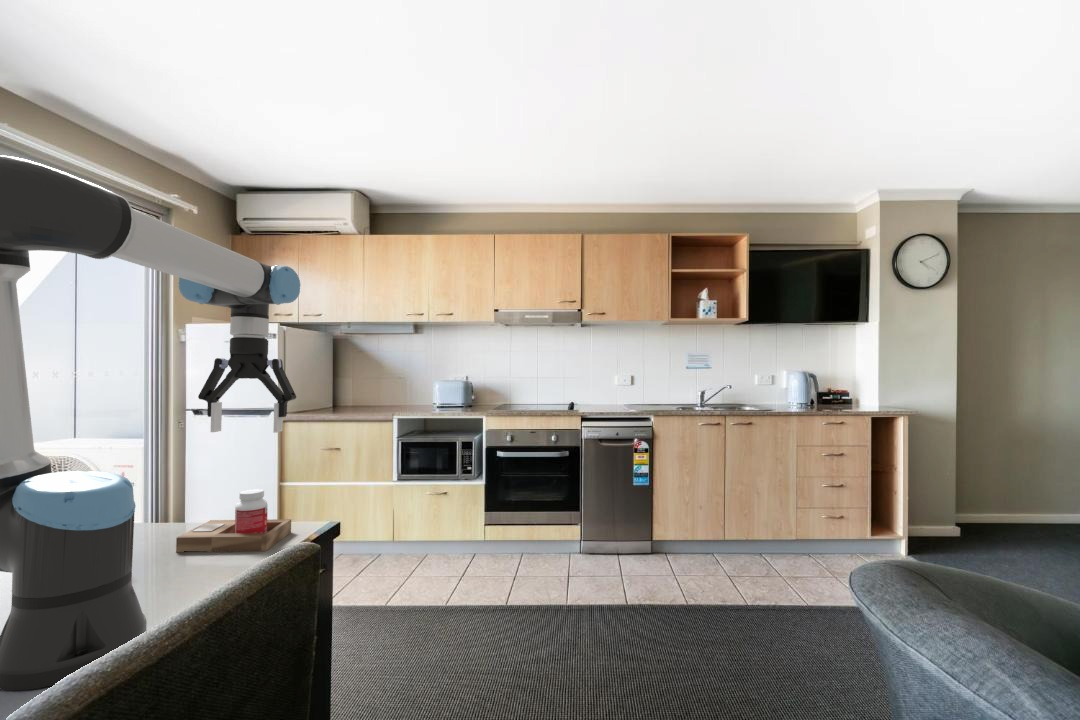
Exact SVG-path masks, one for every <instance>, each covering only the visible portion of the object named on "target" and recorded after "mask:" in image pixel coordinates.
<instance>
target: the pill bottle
mask: <svg viewBox="0 0 1080 720" xmlns="http://www.w3.org/2000/svg"><path fill="white" fill-rule="evenodd" d="M264 496H265V490H264V489H261V488H254V489H253V488H252V489H246V490H241V491H240V492H239V497H238V498H239V500H240V501H239V502H237V503H236V505H235V507H234V508H235V510H234V513H235V515H234V520H235V533H267V520H268V501H267V500H265V499H264Z"/></svg>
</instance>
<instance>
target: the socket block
mask: <svg viewBox="0 0 1080 720" xmlns="http://www.w3.org/2000/svg"><path fill="white" fill-rule="evenodd" d="M291 533H292V519H291V518H290V519H287V518H286V519H284V518H283V519H279V518H277V519H275V518H274V519H267V533H235V519H218V520H217V519H210V520H209V521H206V522H205V523H203V524H201V525H198V526H197V527H195V528H193V529H190V530H188V531H187V532H184V533H183V534H181V535H179V536H177V537H176V541H175V542H176V543H175V545H176V546H175V547H176V548H175V551H176V552H175V553H185V552H184V551H208V552H209V553H210V552H211V553H213V552H214V553H216V552H217V553H218V552H220V553H222V552H266V551H268V550H269V549H271V548H272V547H273V546H275V545H277V543H278V542H280V541H281V540H283V539H284V538H286V537H287V536H288V535H289V534H291Z"/></svg>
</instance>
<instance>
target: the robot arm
mask: <svg viewBox="0 0 1080 720" xmlns="http://www.w3.org/2000/svg"><path fill="white" fill-rule="evenodd" d="M31 251H50V252H52V251H53V252H64V253H71V254H75V255H77V254H78V255H81V256H86V257H88V258H91V259H95V260H104V259H105V260H106V259H109V258H112V257H113V258H116V259H119V260H123V261H125V262H126V261H127V262H129V263H132V264H135V265H139V266H142V267H145V268H148V269H151V270H155V271H158V272H161V273H164V274H167V275H170V276H174V277H178V286H177V287H178V290H179V292H180V294H181V296H182V297H183V298H184V299H186V300H187V301H190V302H193V303H198V304H200V305H209V306H210V305H211V306H217V307H224V308H229V309H230V324H229V325H230V327H229V334H230V335H231V336H232V337H231V338H230V339H229V354H230V355H229V356H230V357H229V359H226V358H222V357H221V358H219V357H217V358H215V359H214V362H213V363H214V364H213V367H212V370H211V371H210V373H209V376H208V377H207V379H206V381H205V383H204V385H203V387H202V389H201V390H200V392H199V394H198V399H199V400H202V401H206V403H207V411H206V412H207V417H208V418H210V433H217V432H222V417H223V413H222V411H223V410H222V409H223V401H220V399H221V398H222V397H223V396H224V395H225V394H226V392H227V391H229V389H230V388H231V387H232V386H233V385H234V384H235V383H236V381H238V380H239V379H250V380H252V379H258V380H259V381H260V382H261V383H262V384H263V386H264V387H266V389H267V390H268V391H269V393H270V394H271V395H272V396H273V398H274V399H275V400H276V402H274V403H273V433H275V434H276V433H281V432H283V430H284V429H283V424H284V419H283V418H286V417H287V415H288V402H291V401H294V400H296V398H297V395H296V393H295V391H294V389H293V386H292V385H291V381H290V380H289V378H288V375H287V374H286V372H285V370H284V366H283V360H282V359H281V358H273V359H269V358H268V355H269V340H268V338H266V337H268V336H269V331H270V330H269V329H270V328H269V326H270V325H269V323H270V322H269V321H270V320H269V319H270V315H269V314H270V313H269V312H270V305H278V306H280V305H282V304H283V305H284V304H290V303H293V302H295V301H296V300H297V299H298V298H299V296H300V293H301V280H300V277H299V274H298V273H297V271H295V269H294V268H292V267H290V266H286V265H279V264H276V265H267V264H265V263H262V262H260V261H257V260H255V259H252V258H250V257H248V256H245V255H243V254H241V253H239V252H237V251H234V250H231V249H229V248H227V247H224V246H221V245H219V244H217V243H215V242H212V241H210V240H207V239H205V238H203V237H200V236H198V235H196V234H193V233H192V232H190V231H186V230H184V229H182V228H179V227H176V226H175V225H173V224H170V223H167V222H165V221H163V220H160V219H158V218H156V217H153V216H151V215H148V214H146V213H144V212H142V211H140V210H136V209H134V208H132V206H131V204H130V202H129V201H128V200H127V199H126V198H125V197H123V196H121V195H120V194H117V193H115V192H114V191H111V190H108V189H106V188H104V187H102V186H99V185H97V184H95V183H92V182H90V181H87V180H85V179H83V178H79V177H77V176H74V175H72V174H69V173H67V172H65V171H61V170H59V169H56V168H53V167H50V166H47V165H45V164H41V163H38V162H34V161H31V160H28V159H25V158H19V157H15V156H9V155H8V156H7V155H0V572H3V573H11V574H12V575H11V576H12V577H11V579H12V580H11V607H10V608H11V609H10V612H9V615H8V617H7V620H6V622H5V624H4V626H3V629H2V630H1V632H0V690H2V691H3V690H4V691H26V690H35V689H36V690H37V689H41V688H47V687H52V686H55V685H54V684H55V683H57V682H58V681H60V680H61V679H63V678H64V677H66V676H67V675H69V674H71V673H73V672H75V671H76V670H78V669H80V668H81V667H83V666H85V665H87V664H89V663H91V662H92V661H94V660H96V659H98V658H100V657H102V656H104V655H105V654H107V653H109V652H110V651H112V650H114V649H116V648H118V647H119V646H121V645H123V644H125V643H127V642H128V641H130V640H132V639H133V638H135V637H137V636H139V635H140V634H142V633H144V632H145V631H146V632H147V624H148V623H147V618H146V616H145V613H143V610H142V606H141V605H140V602H139V600H138V597H137V594H136V591H135V589H134V587H133V581H132V580H133V577H132V576H133V575H132V574H133V553H134V552H133V551H134V535H135V534H134V532H135V512H136V511H135V510H136V502H135V498H134V497H135V496H134V487H133V483H132V482H131V481H130V480H129V479H128V478H127V477H126V476H123V475H121V474H117V473H113V472H110V471H109V472H107V471H101V470H100V471H99V470H98V471H97V470H90V471H82V470H67V471H57V472H52V465H51V463H52V462H51V459H50V458H49V457H47V456H45V455H44V454H42V453H39V452H37V451H36V449H35V445H34V437H33V436H34V435H33V427H32V418H31V408H30V399H29V390H28V389H29V388H28V382H27V379H28V378H27V372H26V363H25V355H24V353H25V352H24V351H25V350H24V344H23V342H24V341H23V335H22V326H21V325H22V324H21V318H20V317H21V315H20V306H19V299H18V297H19V296H18V288H17V283H18V281H19V280H20V279H21V278H23V277H24V276H25V275H26V274H27V273H29V272H30V271H31V265H30V264H31V263H30V253H29V252H31ZM228 367H229V368H230V371H229V372H228V373H227V374H226V375H225V378H224V379H223V380H222V381H221V382H220V380H221V378H222V376H223V375H224V373H225V371H226V369H227V368H228ZM269 367H270V369H272V371H273V374H274V376H275V379H276V380H277V382H278V384H279V386H280V387H279V386H278V384H277V383H276V382H275V381H274V379H272V378H271V375H270V374H269V372H268V371H267V369H268V368H269ZM219 382H220V383H219ZM217 385H218V386H217Z"/></svg>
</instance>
